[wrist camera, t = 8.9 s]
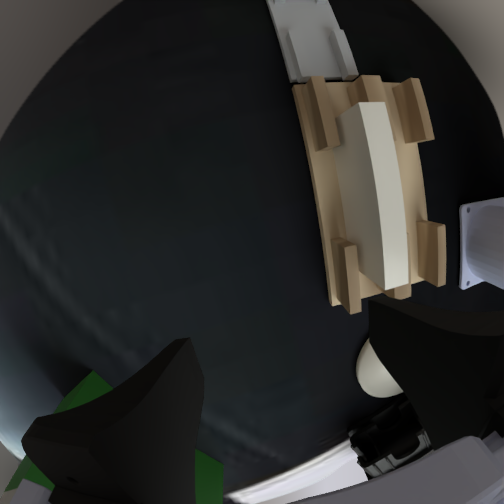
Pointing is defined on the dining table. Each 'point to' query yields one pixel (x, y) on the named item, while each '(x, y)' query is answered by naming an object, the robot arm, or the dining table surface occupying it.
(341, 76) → the plate stand
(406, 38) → the dining table surface
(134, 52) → the dining table surface
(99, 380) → the hardback book
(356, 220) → the white curved panel
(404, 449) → the end cap
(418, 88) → the dish rack
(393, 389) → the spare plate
